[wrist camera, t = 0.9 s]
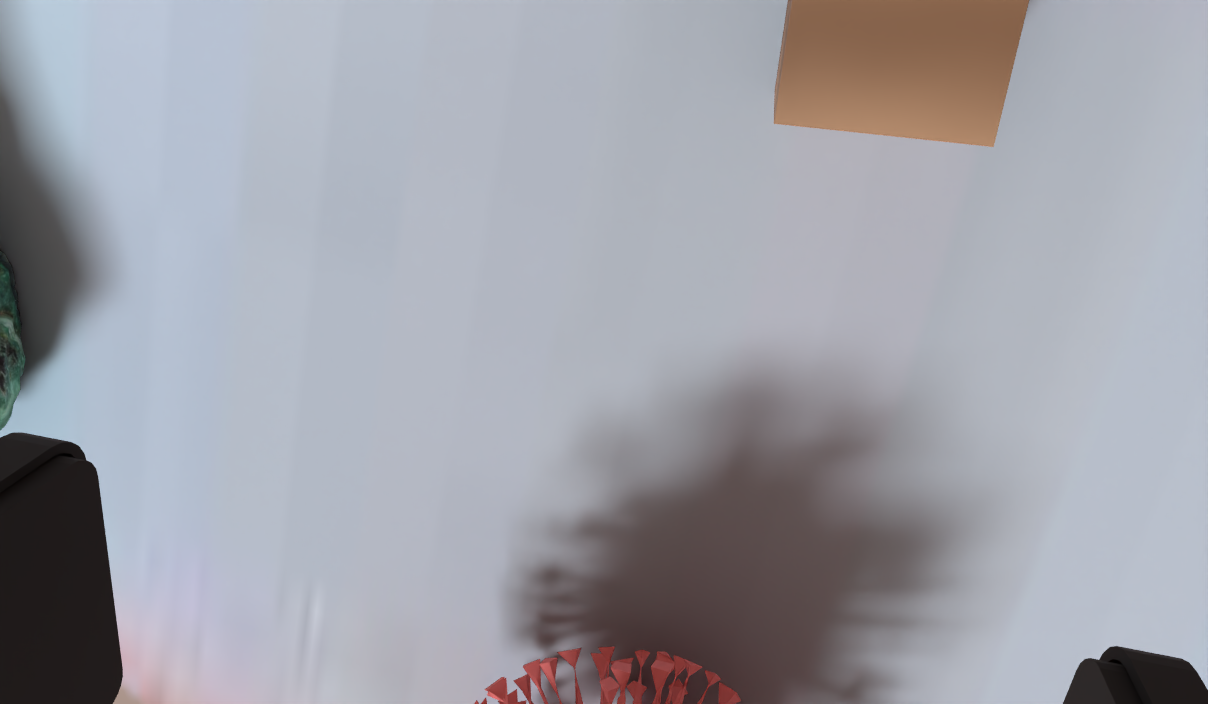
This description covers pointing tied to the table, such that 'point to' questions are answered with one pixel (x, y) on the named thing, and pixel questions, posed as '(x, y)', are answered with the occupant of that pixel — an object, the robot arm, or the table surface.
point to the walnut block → (899, 66)
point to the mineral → (9, 342)
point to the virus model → (609, 685)
